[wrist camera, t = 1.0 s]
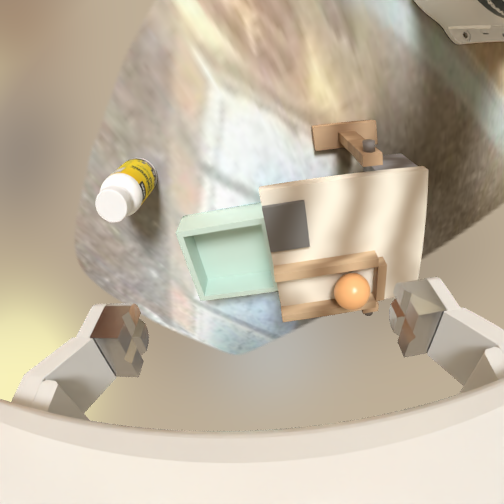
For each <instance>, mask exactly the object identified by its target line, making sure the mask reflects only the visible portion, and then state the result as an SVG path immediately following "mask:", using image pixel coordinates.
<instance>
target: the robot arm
mask: <svg viewBox="0 0 504 504" xmlns="http://www.w3.org/2000/svg"><path fill="white" fill-rule="evenodd" d="M414 1H415V3H416V4H417V5H418V6H419V7H420V8H421V9H422V10H423V11H424V12H425V13H426V14H427V15H428V16H430V17H431V18H432V19H434V20H435V21H436V22H437V23H439V24H440V25H441V26H442V27H443V29H444V31H445V32H446V34H447V35H448V36H449V38H450V39H451V40H452V41H453V42H454V43H455V44H470V43H483V42H502V41H504V0H414ZM463 33H464V34H465V37H464V36H463ZM393 294H394V296H395V298H396V299H395V300H394V301H393V302H392V303H391V305H390V310H389V318H390V319H389V320H390V324H391V327H392V330H393V332H394V333H396V334H397V335H399V339H398V344H399V346H400V349H401V351H402V353H403V356H404V357H409V356H414V355H420V354H425V353H427V355H428V356H429V357H431V358H432V359H433V360H434V361H435V362H437V363H438V364H439V365H440V366H441V367H442V368H444V369H445V370H446V371H447V372H448V373H449V374H450V375H452V376H453V377H454V378H455V379H456V380H457V381H458V382H460V383H461V384H462V385H463V388H462V390H461V391H460V393H459V394H458V395H455V396H451V397H448V398H445V399H442V400H438V401H435V402H432V403H428V404H424V405H421V406H417V407H413V408H408V409H404V410H400V411H396V412H391V413H387V414H382V415H378V416H373V417H367V418H362V419H357V420H350V421H344V422H338V423H331V424H324V425H315V426H307V427H298V428H288V429H287V428H286V429H274V430H255V431H183V430H165V429H151V428H141V427H132V426H123V425H116V424H108V423H102V422H95V421H90V420H89V419H88V418H87V417H86V416H85V415H84V413H85V411H87V409H88V408H89V407H90V406H91V405H92V404H93V403H94V402H95V401H96V400H97V398H98V397H99V396H100V395H101V394H102V393H103V392H104V391H105V389H106V388H107V387H108V386H109V385H110V384H111V383H112V382H113V381H114V380H115V379H116V376H120V377H139V375H140V372H141V368H142V365H143V359H142V357H141V355H142V354H143V353H145V352H146V351H147V347H148V341H149V334H148V330H147V327H146V324H145V323H144V322H143V321H142V320H140V319H139V317H140V314H141V312H140V310H139V308H138V306H137V305H136V304H95V305H93V306H92V308H91V310H90V312H89V313H88V315H87V317H86V319H85V321H84V323H83V325H82V327H81V329H80V331H79V333H78V335H77V337H76V338H71V339H70V340H69V341H67V342H66V343H65V344H63V345H62V346H61V347H59V348H58V349H57V350H55V351H54V352H53V353H51V354H50V355H49V356H48V357H46V358H45V359H44V360H42V361H41V362H40V363H39V364H37V365H36V366H35V367H33V368H32V369H31V370H30V371H28V372H27V373H26V374H24V376H23V378H22V381H21V382H20V385H19V387H18V389H17V391H16V393H15V395H14V397H13V399H12V402H9V401H5V400H2V399H0V504H504V330H503V329H501V328H500V327H498V326H496V325H495V324H493V323H491V322H489V321H488V320H486V319H484V318H482V317H481V316H479V315H477V314H475V313H474V312H472V311H470V310H468V309H466V308H465V307H463V308H461V307H460V306H459V305H458V303H457V302H456V300H455V299H454V297H453V296H452V294H451V293H450V292H449V290H448V289H447V287H446V286H445V284H444V283H443V281H442V280H441V279H440V278H439V277H431V278H425V279H421V280H413V281H406V282H398V283H396V285H395V287H394V291H393Z"/></svg>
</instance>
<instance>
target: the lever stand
mask: <svg viewBox="0 0 504 504" xmlns="http://www.w3.org/2000/svg"><path fill="white" fill-rule="evenodd" d="M312 133H313V140H314V148H315V150H316V151H320V150H327V149H336V148H344V147H345V148H346V149H347V150H348V151H349V152H350V153H351V154H352V155H353V156H354V157H355V158H356V160H357V161H358V162H359V163H360V164H361V165H362V166H363V167H368V166H377V165H383V155H382V152H381V151H379V150H378V149H377V148H376V147H375V144H378V143H377V129H376V121H375V120H363V121H352V122H341V123H332V124H323V125H315V126H312ZM378 305H379V304H378V302H377V301H376V307H375V308H370V309H364V310H362V312H363V314H365V315H367V316H370V315H372V313H373V312H375V311H378Z"/></svg>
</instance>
